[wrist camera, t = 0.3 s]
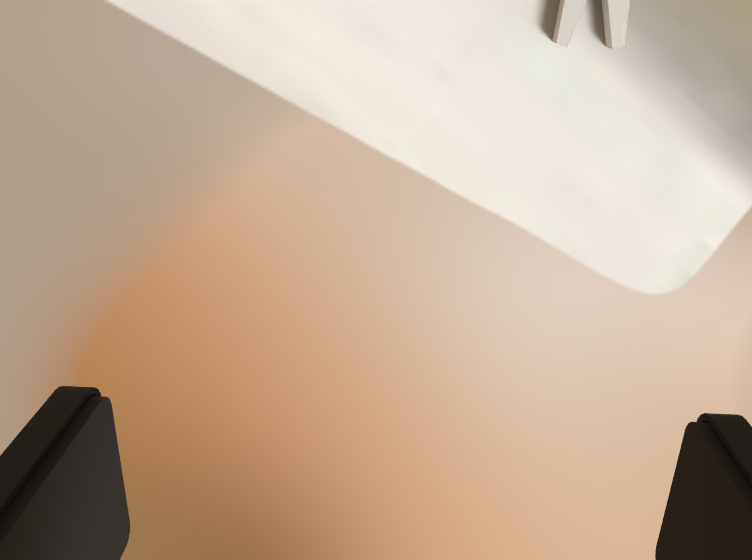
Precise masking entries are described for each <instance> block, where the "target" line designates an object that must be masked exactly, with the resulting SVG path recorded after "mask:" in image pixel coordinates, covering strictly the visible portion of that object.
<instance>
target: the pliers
mask: <svg viewBox="0 0 752 560" xmlns="http://www.w3.org/2000/svg"><path fill="white" fill-rule="evenodd" d="M585 2H586V0H560V3H559V8H558V13H557V19H556V24H555V29H554V34H553V40H552V41H553V42H555V43H557V44H560V45H563V46H566V47H568V44H569V42H570V39H571V37H572V34H573V32H574V30H575V27H576V25H577V22H578V20H579V17H580V15H581V12H582V10H583V7H584V5H585ZM629 3H630V0H602V9H603V20H604V31H605V42H606V47H608V48H611V49H615V48H620V47H624V44H625V36H626V28H627V19H628V11H629Z"/></svg>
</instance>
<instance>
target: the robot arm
mask: <svg viewBox="0 0 752 560" xmlns="http://www.w3.org/2000/svg"><path fill="white" fill-rule="evenodd" d="M129 533H130V520H129V514H128V507H127V501H126V494H125V488H124V482H123V475H122V469H121V462H120V456H119V450H118V444H117V436H116V431H115V425H114V417H113V411H112V405H111V401H110V399H109V398H108V397H101V394H100V392H99V390H98V389H97V388H95V387H93V388H92V387H72V386H61V387H59V388H58V389H56V390H55V391H54V392H53V393H52V395H51V396H50V397H49V398H48V399H47V401H46V402H45V403H44V404H43V405H42V407H41V408H40V409H39V410H38V411H37V413H36V414H35V415H34V416H33V417H32V419H31V420H30V421H29V422H28V423H27V425H26V426H25V427H24V428H23V429H22V431H21V432H20V433H19V434H18V435H17V436H16V438H15V439H14V440H13V441H12V443H11V444H10V445H9V446H8V447H7V449H6V450H5V451H4V452H3V453H2V454H1V456H0V560H120V558H121V556H122V554H123V552H124V550H125V548H126V545H127V542H128V539H129ZM656 560H752V427H751V426H750V424H749V423H748V422H747V420H746V419H744V417H743V416H740V415H730V414H708V413H704V414H701V415H700V417H699V418H698V419H697V422H690V423H688V425H687V426H686V429H685V433H684V437H683V442H682V445H681V449H680V453H679V457H678V461H677V465H676V469H675V473H674V477H673V481H672V485H671V489H670V493H669V497H668V501H667V506H666V509H665V513H664V517H663V522H662V526H661V530H660V534H659V538H658V542H657V546H656Z"/></svg>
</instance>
